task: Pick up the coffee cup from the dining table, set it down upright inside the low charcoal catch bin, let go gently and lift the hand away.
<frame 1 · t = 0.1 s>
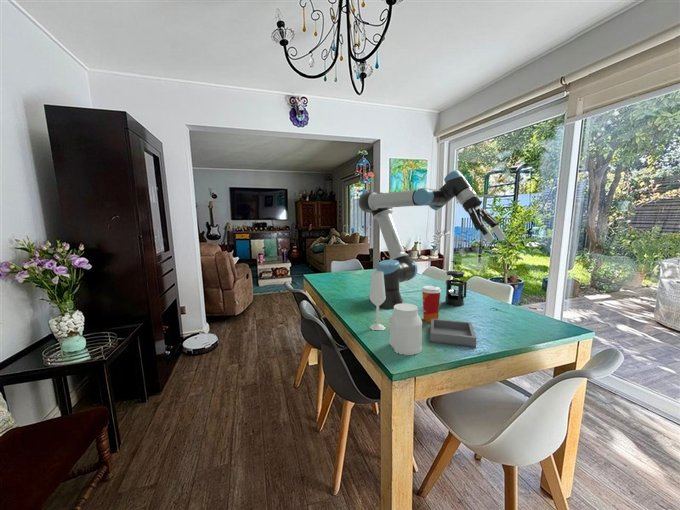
hand: (497, 239, 116), 36 cm above the table, tool tilted 35°, fingers open, 13 cm apart
jar: (405, 348, 98), on the table
champagne flute: (377, 328, 116), on the table
french press: (455, 303, 147), on the table
catch bin: (451, 335, 107), on the table
coffee cup: (430, 320, 123), on the table
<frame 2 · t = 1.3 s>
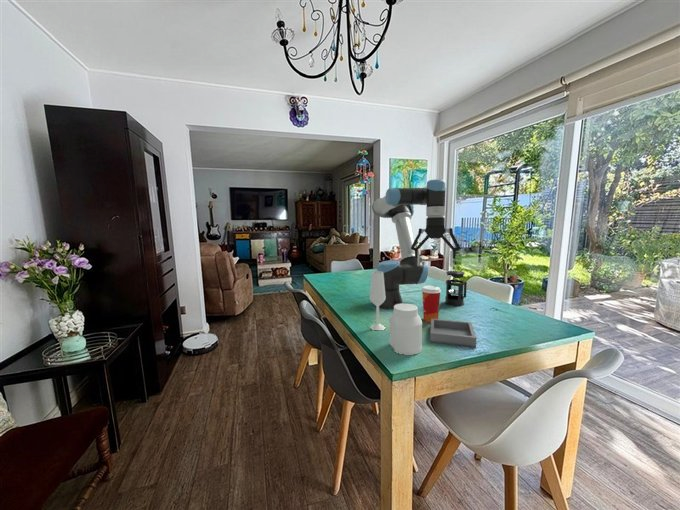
hand: (434, 265, 120), 25 cm above the table, tool pointing down, fingers open, 13 cm apart
nothing on the table moved.
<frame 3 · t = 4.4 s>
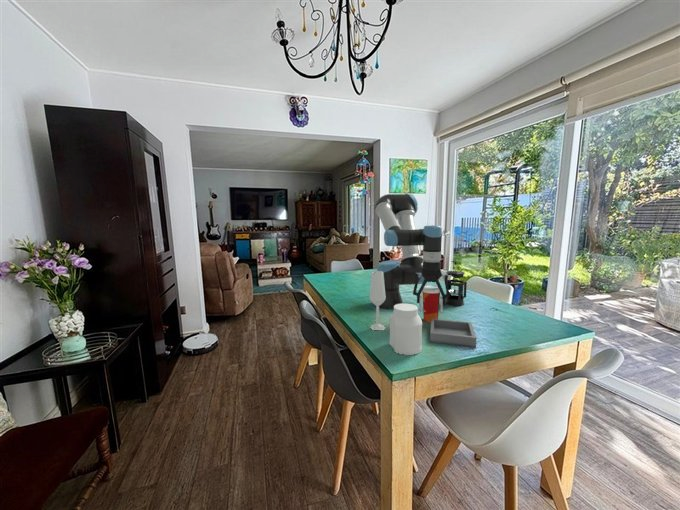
hand: (430, 311, 123), 4 cm above the table, tool pointing down, fingers closed on coffee cup, 8 cm apart
coffee cup: (430, 320, 123), on the table, touching gripper
everything else where it was.
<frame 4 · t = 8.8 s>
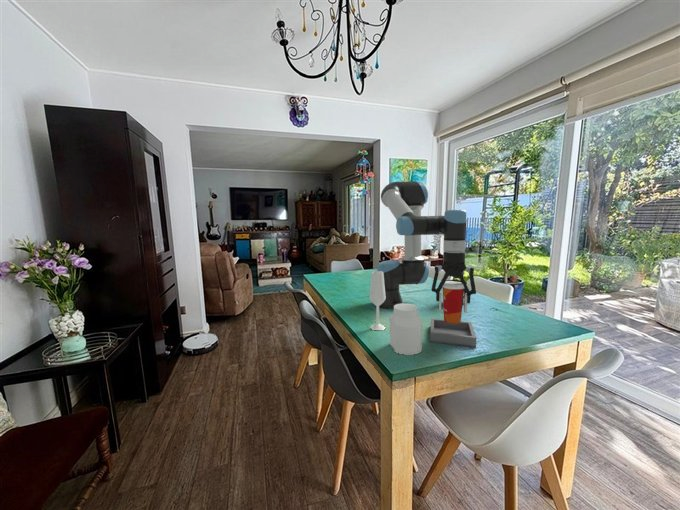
hand: (452, 310, 105), 10 cm above the table, tool pointing down, fingers closed on coffee cup, 8 cm apart
coffee cup: (452, 321, 106), point 6 cm above the table, touching gripper
everything else where it was.
when the fingers open (6 cm above the table, at t = 10.5 s): coffee cup stays where it is, resting on catch bin.
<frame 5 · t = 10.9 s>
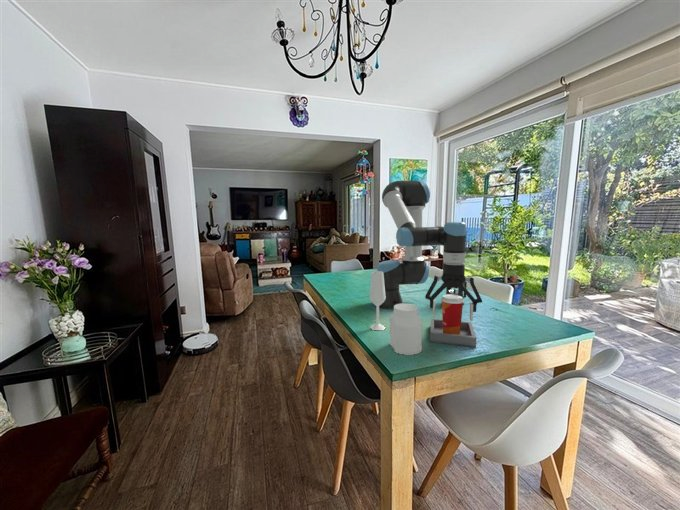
hand: (452, 318, 106), 7 cm above the table, tool pointing down, fingers open, 13 cm apart
coffee cup: (451, 334, 107), resting on catch bin
everything else where it was.
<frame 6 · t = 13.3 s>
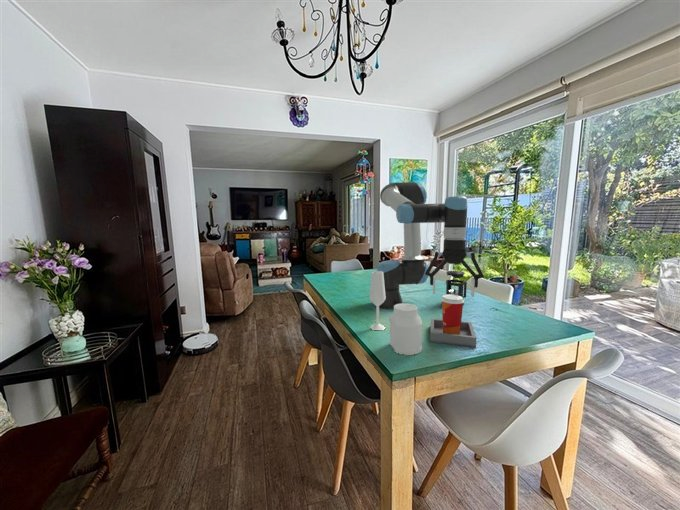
hand: (452, 294, 105), 17 cm above the table, tool pointing down, fingers open, 13 cm apart
nothing on the table moved.
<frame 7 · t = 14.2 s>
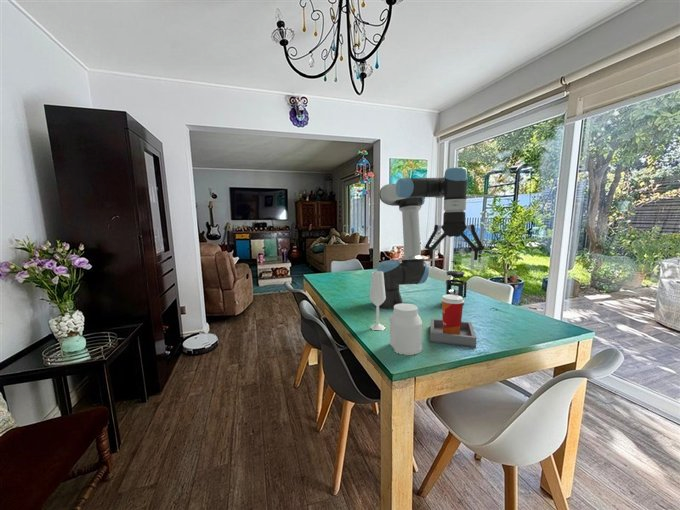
hand: (452, 268, 104), 27 cm above the table, tool pointing down, fingers open, 13 cm apart
nothing on the table moved.
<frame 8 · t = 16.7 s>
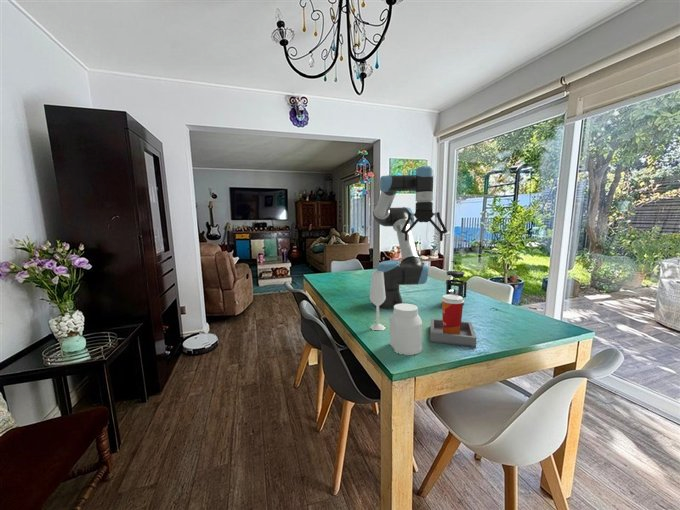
hand: (423, 248, 128), 32 cm above the table, tool pointing down, fingers open, 13 cm apart
nothing on the table moved.
at the end: coffee cup inside the target area on the catch bin (0.1 cm from its centre), point 0.4 cm above the catch bin's base; coffee cup tilted 0°; the gripper is holding nothing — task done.
